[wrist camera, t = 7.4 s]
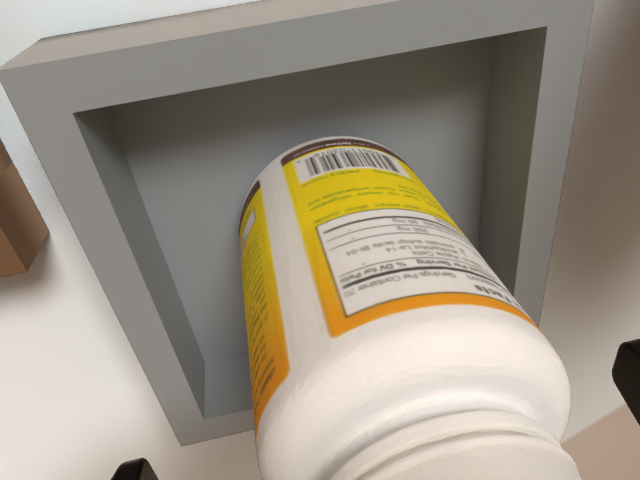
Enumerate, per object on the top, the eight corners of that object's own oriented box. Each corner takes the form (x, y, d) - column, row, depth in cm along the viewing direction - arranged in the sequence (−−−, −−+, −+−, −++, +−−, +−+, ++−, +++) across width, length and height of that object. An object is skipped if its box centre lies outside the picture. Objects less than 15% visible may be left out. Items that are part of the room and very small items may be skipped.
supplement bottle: (309, 313, 17) (402, 705, 9) (196, 207, 14) (169, 648, 6) (448, 222, 16) (710, 569, 7) (358, 85, 13) (627, 407, 4)
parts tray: (523, -44, 12) (600, -36, 10) (491, 306, 19) (532, 363, 17) (42, 38, 12) (-5, 70, 9) (185, 375, 18) (181, 446, 16)
